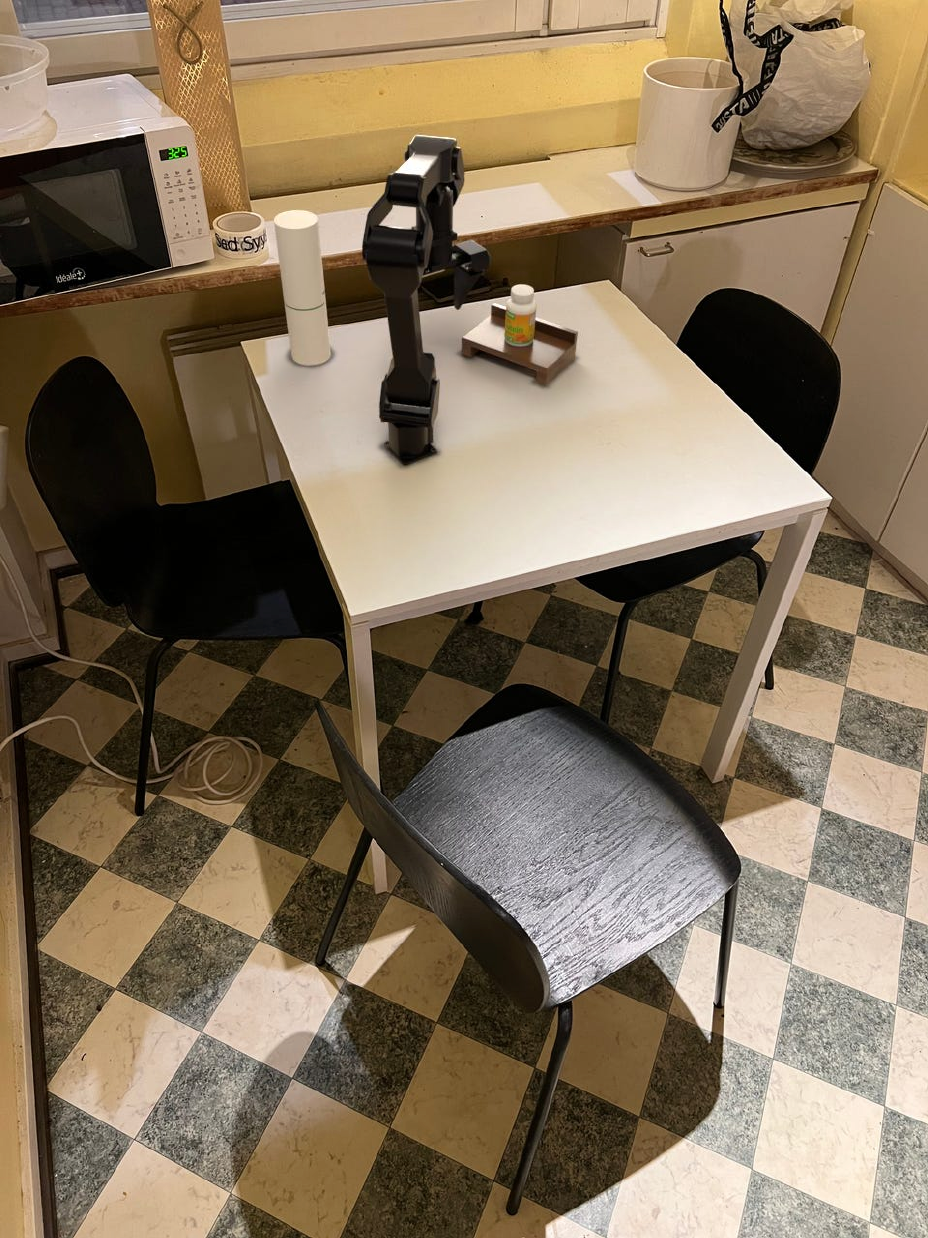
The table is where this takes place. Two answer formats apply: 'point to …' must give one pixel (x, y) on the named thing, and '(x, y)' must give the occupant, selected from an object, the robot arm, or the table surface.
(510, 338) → the supplement bottle
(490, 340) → the shelf
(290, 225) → the cylindrical container
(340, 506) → the table surface
